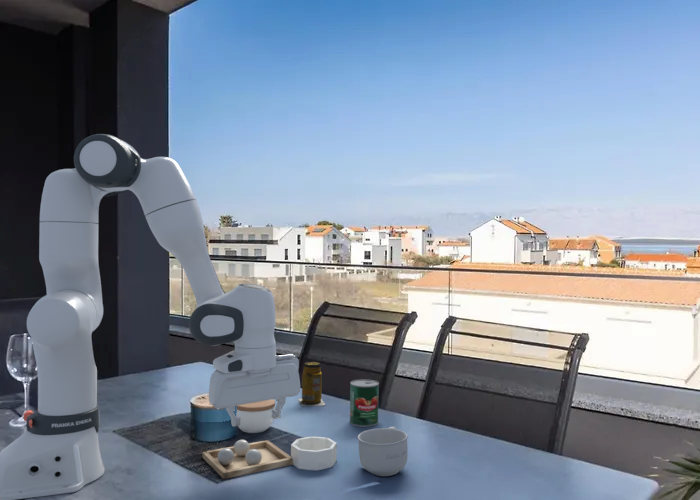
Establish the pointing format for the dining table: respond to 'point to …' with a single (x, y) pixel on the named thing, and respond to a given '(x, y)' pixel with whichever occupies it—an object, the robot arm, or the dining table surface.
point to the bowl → (314, 453)
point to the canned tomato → (364, 402)
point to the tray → (238, 467)
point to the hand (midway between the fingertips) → (256, 421)
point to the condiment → (311, 385)
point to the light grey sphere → (253, 457)
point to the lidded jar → (256, 416)
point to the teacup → (383, 450)
